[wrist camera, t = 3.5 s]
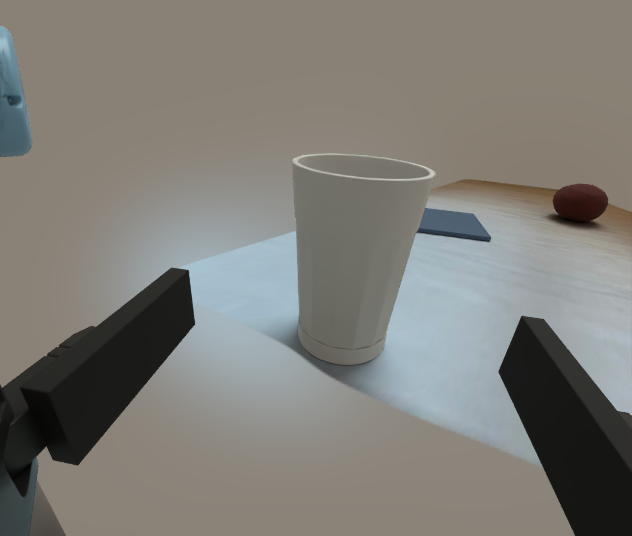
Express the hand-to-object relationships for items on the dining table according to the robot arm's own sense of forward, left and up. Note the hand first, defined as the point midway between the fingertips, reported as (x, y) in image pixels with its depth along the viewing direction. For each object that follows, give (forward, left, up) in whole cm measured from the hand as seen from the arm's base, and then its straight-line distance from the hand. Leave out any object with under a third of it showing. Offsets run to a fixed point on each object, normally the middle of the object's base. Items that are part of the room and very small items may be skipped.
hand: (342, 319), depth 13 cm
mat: (+10, +39, -7) cm, 41 cm away
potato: (+33, +51, -7) cm, 62 cm away
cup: (-1, +8, -7) cm, 11 cm away
